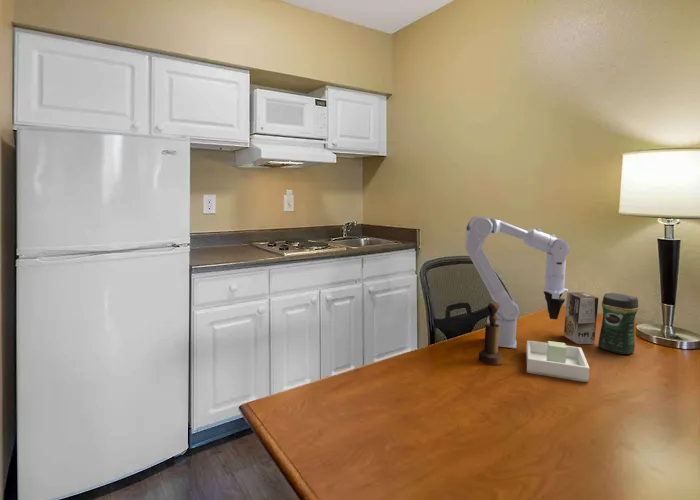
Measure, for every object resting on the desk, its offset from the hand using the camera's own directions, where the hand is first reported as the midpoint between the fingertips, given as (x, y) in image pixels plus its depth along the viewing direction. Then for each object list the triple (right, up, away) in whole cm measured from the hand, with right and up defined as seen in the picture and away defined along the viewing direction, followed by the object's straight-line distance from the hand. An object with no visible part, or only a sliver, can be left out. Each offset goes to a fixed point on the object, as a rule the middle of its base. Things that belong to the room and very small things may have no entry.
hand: (552, 315), depth 135 cm
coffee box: (+13, -10, +9) cm, 19 cm away
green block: (-7, -12, -16) cm, 21 cm away
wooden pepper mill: (-25, -12, -12) cm, 30 cm away
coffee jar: (+20, -11, -1) cm, 23 cm away
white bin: (-7, -12, -15) cm, 21 cm away
